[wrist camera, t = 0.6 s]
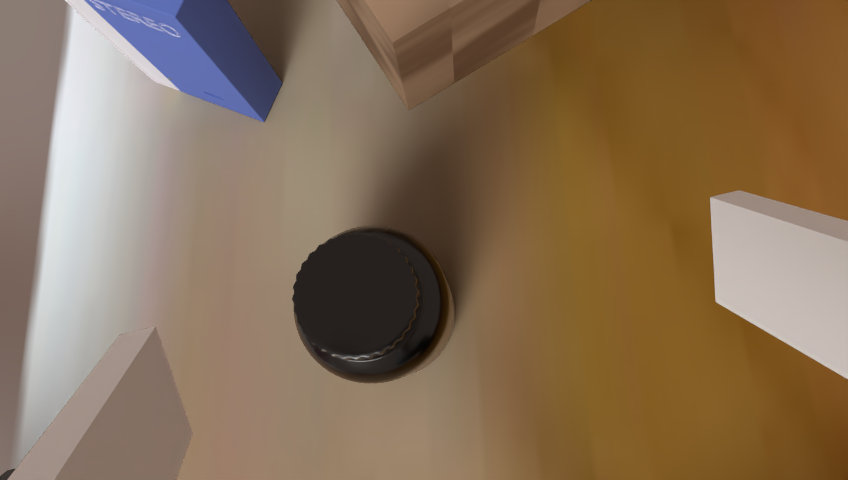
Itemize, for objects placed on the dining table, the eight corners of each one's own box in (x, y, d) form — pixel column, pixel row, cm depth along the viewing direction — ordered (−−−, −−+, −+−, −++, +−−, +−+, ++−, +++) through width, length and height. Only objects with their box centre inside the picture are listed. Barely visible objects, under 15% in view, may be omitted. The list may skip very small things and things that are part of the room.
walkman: (283, 82, 38) (199, -44, 26) (264, 122, 37) (170, 12, 25) (172, 42, 39) (42, -97, 27) (152, 81, 38) (12, -44, 26)
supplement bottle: (335, 255, 35) (269, 203, 23) (454, 254, 35) (447, 200, 23) (332, 377, 34) (260, 387, 22) (455, 378, 33) (449, 387, 22)
